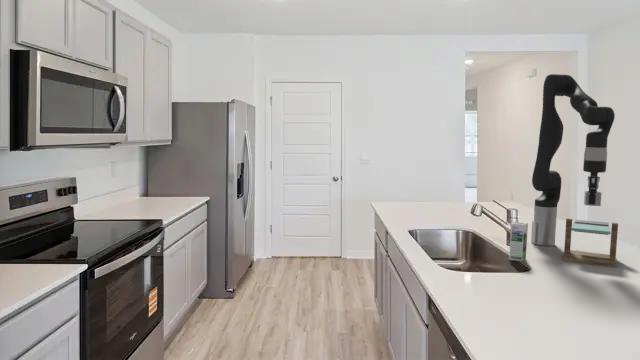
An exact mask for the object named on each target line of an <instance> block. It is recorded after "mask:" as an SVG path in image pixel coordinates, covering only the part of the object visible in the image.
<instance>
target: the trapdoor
mask: <svg viewBox="0 0 640 360" xmlns="http://www.w3.org/2000/svg"><path fill="white" fill-rule="evenodd" d="M611 230H612V229H611V226H610V222H605V221H596V220H595V221H593V220H583V219H575V221H574V222H572V227H571V232H572V231H573V232H574V233H575V232H578V233H585V234H596V235H597V234H598V235H605V236H606V235H607V236H609V235H611Z"/></svg>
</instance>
